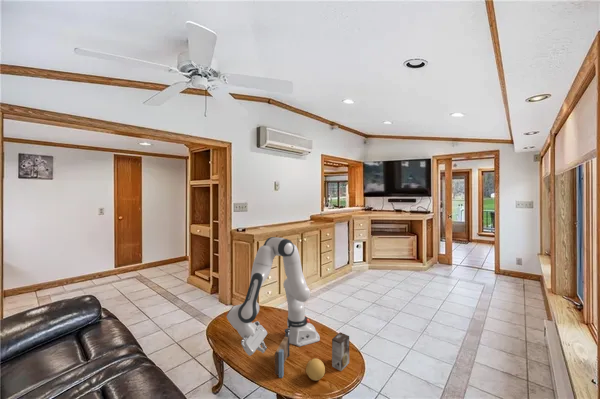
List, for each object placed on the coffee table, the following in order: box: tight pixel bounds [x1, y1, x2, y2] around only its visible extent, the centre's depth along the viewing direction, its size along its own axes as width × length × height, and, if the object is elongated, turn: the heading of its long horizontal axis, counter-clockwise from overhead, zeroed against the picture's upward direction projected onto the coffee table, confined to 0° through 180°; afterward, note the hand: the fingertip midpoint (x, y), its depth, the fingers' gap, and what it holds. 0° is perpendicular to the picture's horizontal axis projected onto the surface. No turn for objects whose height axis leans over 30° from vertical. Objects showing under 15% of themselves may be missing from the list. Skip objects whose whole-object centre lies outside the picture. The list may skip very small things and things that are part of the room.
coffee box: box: [331, 332, 350, 372], centre depth 154 cm, size 9×6×16 cm
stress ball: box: [305, 357, 326, 381], centre depth 143 cm, size 10×10×10 cm
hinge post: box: [284, 327, 290, 358], centre depth 163 cm, size 3×3×16 cm
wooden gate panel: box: [274, 336, 289, 376], centre depth 153 cm, size 17×2×11 cm, turn 164°
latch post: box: [278, 349, 285, 379], centre depth 145 cm, size 2×2×14 cm
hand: (265, 350), depth 153 cm, fingers closed
